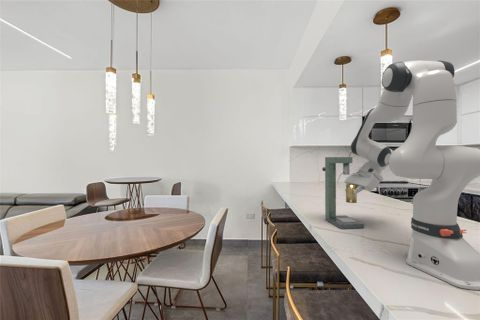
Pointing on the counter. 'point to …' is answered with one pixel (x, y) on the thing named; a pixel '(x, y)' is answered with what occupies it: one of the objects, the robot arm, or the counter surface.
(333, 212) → the press
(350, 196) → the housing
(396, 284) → the counter surface
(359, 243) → the counter surface
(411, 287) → the counter surface
